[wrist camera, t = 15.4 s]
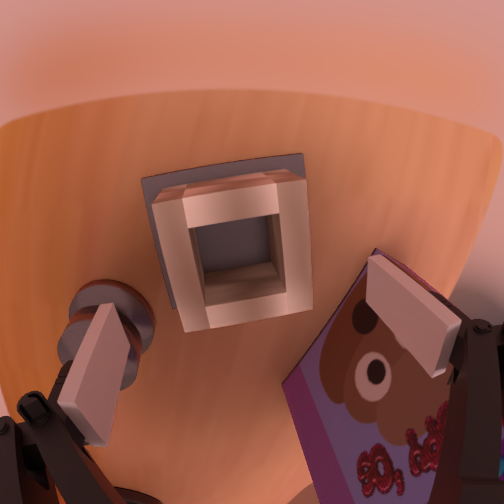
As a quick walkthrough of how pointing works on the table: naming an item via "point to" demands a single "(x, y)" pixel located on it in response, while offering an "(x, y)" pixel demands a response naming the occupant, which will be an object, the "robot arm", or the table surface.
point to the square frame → (247, 277)
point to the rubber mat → (226, 233)
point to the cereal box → (368, 408)
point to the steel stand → (130, 314)
